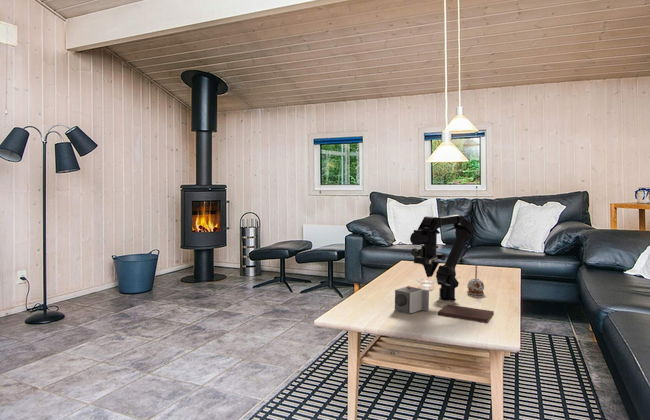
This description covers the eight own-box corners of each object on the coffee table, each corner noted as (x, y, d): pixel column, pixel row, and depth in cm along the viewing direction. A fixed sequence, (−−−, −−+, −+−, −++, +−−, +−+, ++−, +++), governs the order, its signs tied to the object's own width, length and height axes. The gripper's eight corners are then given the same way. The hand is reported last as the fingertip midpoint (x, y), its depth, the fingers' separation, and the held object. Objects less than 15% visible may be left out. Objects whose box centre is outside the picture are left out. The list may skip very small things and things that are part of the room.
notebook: (447, 307, 194) (447, 303, 194) (493, 314, 184) (493, 310, 184) (437, 316, 181) (438, 311, 181) (487, 324, 171) (487, 319, 171)
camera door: (421, 308, 189) (422, 289, 188) (428, 310, 186) (429, 290, 186) (409, 312, 182) (409, 293, 182) (416, 314, 180) (416, 294, 179)
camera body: (407, 305, 194) (408, 284, 194) (421, 309, 189) (421, 287, 189) (392, 310, 186) (393, 289, 186) (406, 314, 181) (406, 291, 181)
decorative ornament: (474, 296, 212) (475, 266, 211) (464, 292, 219) (464, 263, 218) (487, 295, 215) (488, 265, 214) (476, 291, 222) (477, 262, 221)
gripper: (426, 240, 211) (425, 271, 212) (404, 243, 198) (403, 277, 199) (446, 242, 203) (445, 275, 204) (425, 246, 190) (424, 281, 191)
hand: (429, 276), depth 200 cm, fingers closed
